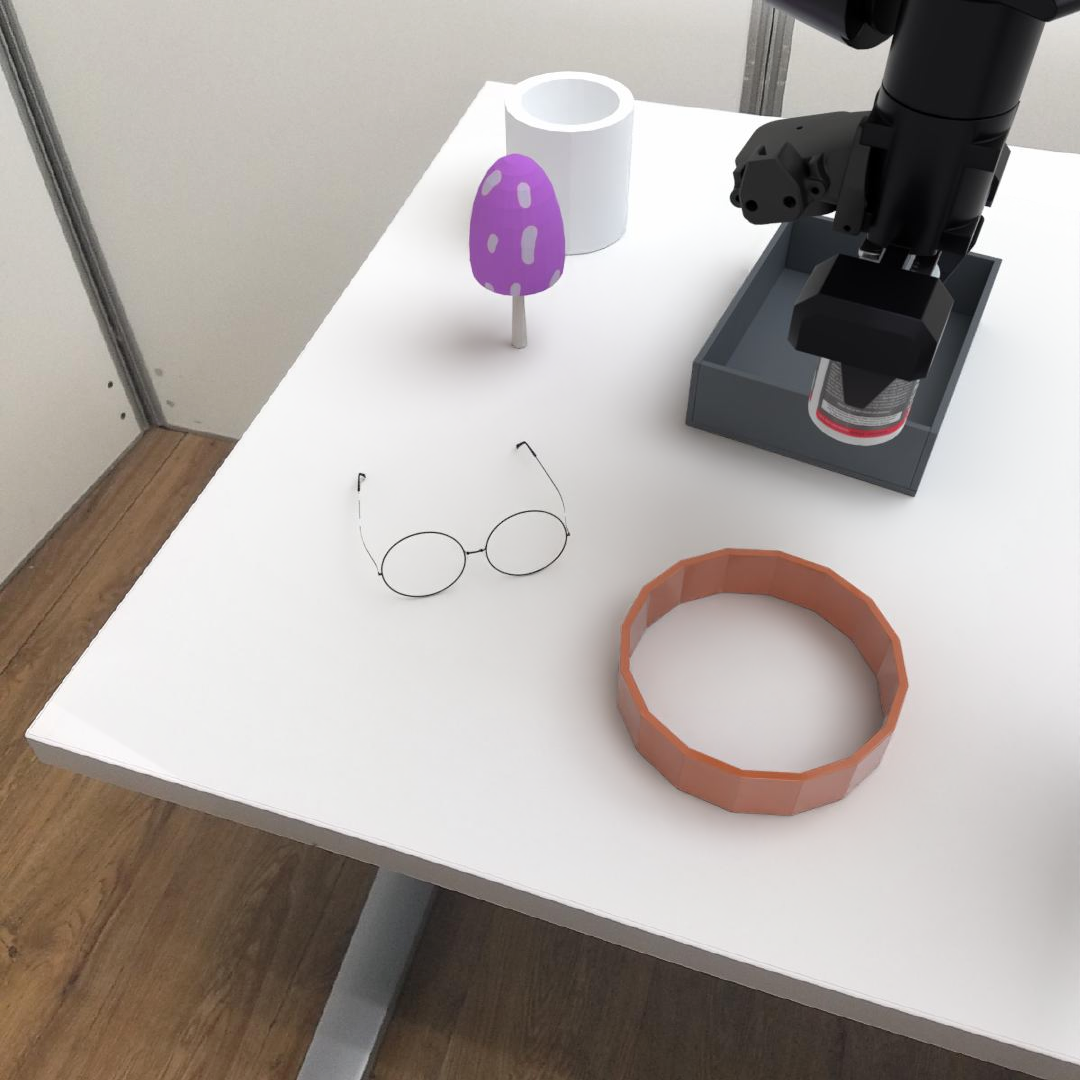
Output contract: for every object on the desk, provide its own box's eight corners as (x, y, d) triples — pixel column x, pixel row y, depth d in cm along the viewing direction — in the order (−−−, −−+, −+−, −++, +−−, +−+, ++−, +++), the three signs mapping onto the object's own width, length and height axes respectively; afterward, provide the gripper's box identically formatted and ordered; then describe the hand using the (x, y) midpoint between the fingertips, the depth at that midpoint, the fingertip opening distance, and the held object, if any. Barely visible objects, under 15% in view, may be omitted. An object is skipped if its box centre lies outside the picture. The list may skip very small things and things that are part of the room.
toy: (463, 362, 79) (448, 175, 68) (491, 310, 83) (482, 126, 72) (549, 378, 77) (549, 191, 66) (574, 325, 82) (578, 140, 71)
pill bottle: (922, 439, 58) (976, 289, 51) (831, 457, 57) (873, 306, 50) (877, 377, 62) (921, 228, 54) (791, 393, 61) (824, 244, 53)
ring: (919, 641, 61) (935, 603, 59) (847, 861, 53) (862, 829, 50) (676, 555, 66) (682, 516, 63) (573, 744, 57) (573, 708, 54)
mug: (541, 164, 98) (540, 47, 90) (649, 181, 96) (658, 63, 88) (492, 243, 89) (486, 121, 81) (609, 263, 87) (615, 140, 79)
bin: (980, 320, 82) (1003, 258, 78) (914, 497, 69) (937, 434, 65) (779, 268, 86) (791, 207, 82) (684, 424, 74) (692, 361, 70)
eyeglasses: (348, 478, 71) (337, 422, 67) (531, 444, 73) (531, 387, 69) (376, 607, 63) (365, 552, 60) (578, 564, 66) (580, 509, 62)
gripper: (826, -21, 53) (776, 248, 65) (696, 147, 42) (664, 436, 54) (1057, 18, 50) (961, 295, 62) (982, 212, 39) (882, 505, 51)
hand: (868, 373), depth 57 cm, fingers closed on pill bottle, 5 cm apart
